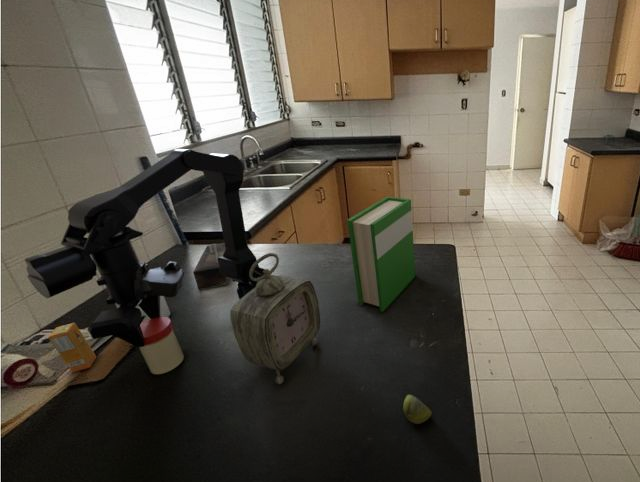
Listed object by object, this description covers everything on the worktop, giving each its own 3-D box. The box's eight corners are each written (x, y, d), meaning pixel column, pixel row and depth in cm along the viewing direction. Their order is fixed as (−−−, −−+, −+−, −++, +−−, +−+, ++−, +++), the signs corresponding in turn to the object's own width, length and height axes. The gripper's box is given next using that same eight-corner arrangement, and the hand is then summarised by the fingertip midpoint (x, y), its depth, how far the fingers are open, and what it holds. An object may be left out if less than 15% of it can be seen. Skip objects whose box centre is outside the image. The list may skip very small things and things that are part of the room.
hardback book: (383, 311, 84) (373, 224, 75) (359, 304, 87) (347, 220, 78) (415, 276, 98) (410, 199, 89) (393, 271, 102) (387, 196, 92)
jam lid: (128, 349, 65) (125, 342, 64) (142, 327, 70) (139, 321, 70) (166, 340, 66) (163, 333, 66) (177, 320, 72) (175, 313, 71)
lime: (404, 406, 60) (403, 386, 58) (432, 406, 59) (431, 386, 57) (403, 430, 55) (401, 409, 53) (432, 430, 55) (431, 409, 53)
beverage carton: (237, 256, 115) (231, 238, 112) (228, 285, 98) (222, 266, 96) (210, 261, 112) (205, 243, 110) (198, 292, 96) (190, 272, 93)
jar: (125, 338, 79) (104, 296, 74) (129, 319, 85) (110, 280, 81) (170, 323, 84) (153, 282, 79) (171, 306, 90) (155, 268, 85)
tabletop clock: (280, 393, 63) (248, 281, 53) (244, 381, 66) (207, 273, 56) (325, 340, 75) (306, 242, 66) (293, 332, 78) (270, 236, 69)
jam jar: (187, 349, 75) (174, 317, 71) (179, 369, 70) (164, 336, 66) (156, 356, 73) (141, 324, 70) (145, 377, 68) (128, 344, 64)
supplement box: (77, 362, 73) (55, 326, 69) (97, 357, 74) (77, 321, 70) (69, 374, 70) (46, 336, 66) (90, 368, 71) (69, 331, 67)
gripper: (150, 284, 55) (180, 355, 62) (185, 238, 72) (206, 298, 78) (67, 299, 52) (108, 372, 59) (123, 247, 69) (150, 309, 75)
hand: (149, 333), depth 68 cm, fingers open, 7 cm apart
